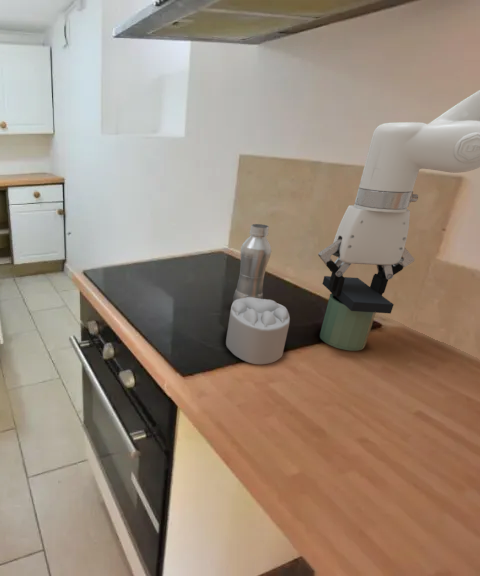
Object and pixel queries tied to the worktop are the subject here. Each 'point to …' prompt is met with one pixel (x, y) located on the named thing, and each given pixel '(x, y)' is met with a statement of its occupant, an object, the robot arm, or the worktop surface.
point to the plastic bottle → (253, 263)
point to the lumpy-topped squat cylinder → (257, 330)
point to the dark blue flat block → (361, 296)
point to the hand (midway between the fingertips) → (354, 294)
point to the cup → (345, 326)
